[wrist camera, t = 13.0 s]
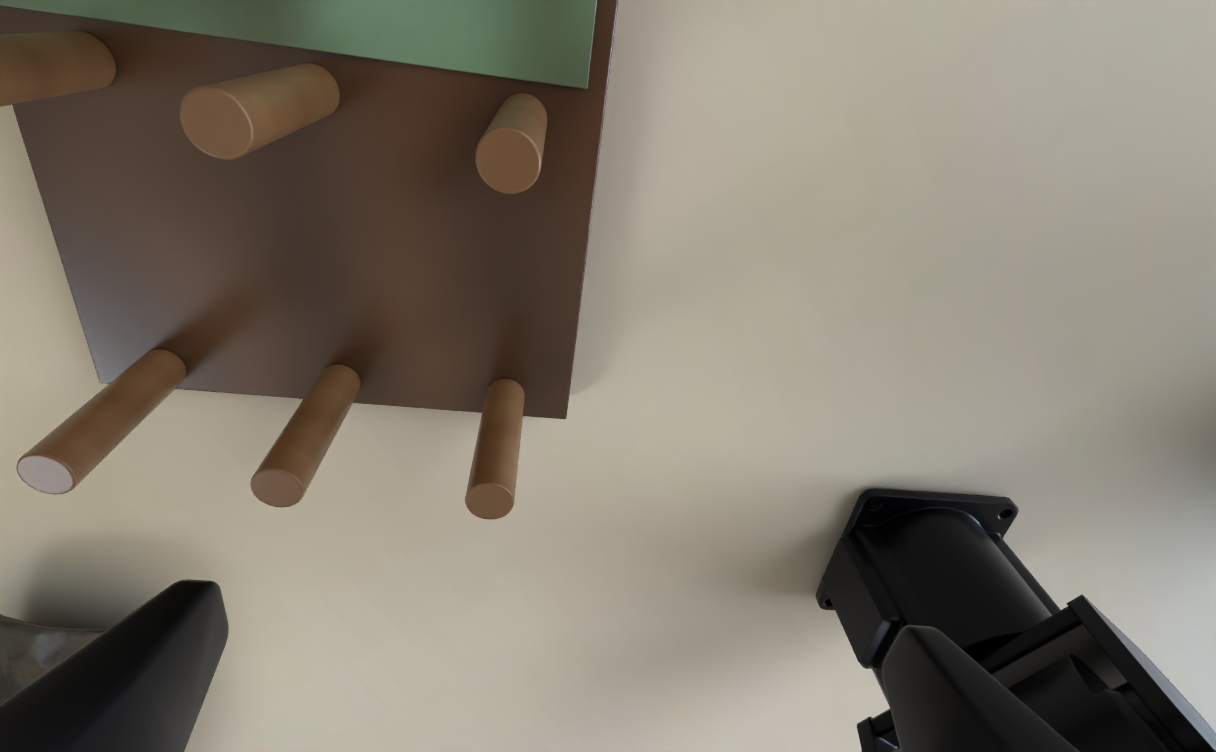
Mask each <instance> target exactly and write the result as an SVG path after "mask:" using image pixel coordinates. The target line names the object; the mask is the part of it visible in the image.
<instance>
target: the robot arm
mask: <svg viewBox="0 0 1216 752" xmlns="http://www.w3.org/2000/svg"><path fill="white" fill-rule="evenodd" d="M875 500H876V501H875ZM872 501H874V502H872ZM871 502H872V503H871ZM1017 514H1018V507H1017V506H1016V505H1015V504H1014V503H1013V502H1012V501H1011V500H1010V499H1009V498H1006V497H993V496H978V495H964V494H949V493H935V492H920V491H906V490H891V489H877V488H874V489H869V490H866V491H864V492H863V493H862V494H861V495H860V496H859V498H858V500H857V502H856V505H855V507H854V509H853V512H852V514H851V516H850V518H849V521H848V523H847V525H846V527H845V530H844V532H843V534H842V536H841V538H840V539H839V541H838V543H837V546H836V548H835V550H834V553H833V555H832V557H831V559H830V562H829V564H828V566H827V568H826V571H825V573H824V575H823V577H822V582H821V584H820V586H819V588H818V591H817V593H816V599H817V602H818V604H819V606H820V608H822V609H825V610H836V613H837V615H838V617H839V619H840V622H841V624H842V626H843V628H844V631H845V633H846V635H847V637H848V639H849V642H850V644H851V646H852V648H853V651H854V653H855V655H856V657H857V659H858V661H859V663H860V664H861V665H862V666H863V667H864V668H867V669H872V670H873V672H874V674H875V676H876V678H877V680H878V683H879V685H880V687H881V689H882V691H883V693H884V696H885V698H886V700H887V702H888V704H889V706H890V709H888V710H887V711H885V712H883V713H881V714H880V715H878V716H876V717H874V718H871V717H868V718H867V719H865V720H863V721H861V722H860V723H858V724H857V729H858V734H859V738H860V743H861V748H862V752H1216V733H1215V732H1214V731H1213V729H1212V728H1211V727H1210V726H1209V724H1208V723H1207V722H1206V721H1205V719H1204V718H1203V717H1202V716H1201V715H1200V714H1199V713H1198V711H1197V710H1196V709H1195V708H1194V707H1193V706H1192V705H1191V704H1190V703H1189V702H1188V701H1187V699H1186V698H1185V697H1184V696H1183V695H1182V694H1181V693H1180V692H1179V691H1178V690H1177V689H1176V687H1175V686H1174V685H1173V684H1172V683H1171V682H1170V681H1169V680H1168V679H1167V678H1166V677H1165V675H1164V674H1163V673H1162V672H1161V671H1160V670H1159V669H1158V668H1157V667H1156V666H1155V665H1154V664H1153V662H1152V661H1151V660H1150V659H1149V658H1148V657H1147V656H1146V655H1145V654H1144V653H1143V652H1142V651H1141V650H1140V649H1139V648H1138V647H1137V646H1136V645H1135V644H1134V643H1133V642H1132V641H1131V640H1130V639H1129V638H1128V637H1127V636H1126V635H1125V634H1123V633H1122V632H1121V631H1120V630H1119V629H1118V628H1117V627H1116V626H1115V625H1114V624H1113V623H1112V622H1111V621H1110V620H1109V619H1108V618H1107V617H1106V616H1105V615H1103V614H1102V613H1101V612H1100V611H1099V610H1098V609H1097V608H1096V607H1095V606H1094V605H1093V604H1092V603H1091V602H1090V601H1089V600H1088V599H1087V598H1086V597H1084V596H1083V595H1080V596H1079V597H1077V598H1075V599H1073V600H1072V601H1070V602H1068V603H1067V605H1068V607H1066V608H1064V609H1063V610H1060V609H1059V607H1058V606H1057V605H1056V604H1055V602H1054V601H1053V600H1052V599H1051V598H1050V596H1049V595H1048V594H1047V593H1046V592H1045V590H1044V589H1043V588H1042V587H1041V585H1040V584H1039V583H1038V582H1037V581H1036V579H1035V578H1034V577H1033V576H1032V575H1031V573H1030V572H1029V571H1028V570H1027V568H1026V567H1025V566H1024V565H1023V564H1022V562H1021V561H1020V560H1019V559H1018V557H1017V556H1016V555H1015V554H1014V553H1013V551H1012V550H1011V549H1010V548H1009V547H1008V545H1007V544H1006V543H1005V542H1004V540H1003V539H1002V538H1003V537H1004V535H1005V533H1006V532H1007V530H1008V528H1009V527H1010V525H1011V524H1012V522H1013V520H1014V519H1015V517H1016V516H1017ZM227 637H228V620H227V616H226V612H225V607H224V603H223V598H222V594H221V590H220V587H219V585H218V584H217V583H215V582H213V581H203V580H181V581H178V582H176V583H174V584H172V585H171V586H169V587H168V588H167V589H165V590H164V591H162V592H161V593H159V594H158V595H157V596H155V597H154V598H152V599H151V600H149V601H148V602H146V603H145V604H144V605H142V606H141V607H139V608H138V609H136V610H135V611H134V612H132V613H131V614H129V615H128V616H126V617H125V618H124V619H122V620H121V621H119V622H118V623H116V624H115V625H114V626H112V627H111V628H109V629H108V630H106V631H105V632H104V633H102V634H101V635H99V636H98V637H96V638H95V639H94V640H92V641H91V642H89V643H88V644H86V645H85V646H84V647H82V648H81V649H79V650H78V651H76V652H75V653H74V654H72V655H71V656H69V657H68V658H66V659H65V660H64V661H62V662H61V663H59V664H58V665H56V666H55V667H53V668H52V669H51V670H49V671H48V672H46V673H45V674H43V675H42V676H41V677H39V678H38V679H36V680H35V681H33V682H32V683H31V684H29V685H28V686H26V687H25V688H23V689H22V690H21V691H19V692H18V693H16V694H15V695H13V696H12V697H11V698H9V699H8V700H6V701H5V702H3V703H2V704H1V705H0V752H184V750H185V748H186V745H187V742H188V740H189V737H190V735H191V732H192V730H193V727H194V724H195V722H196V719H197V717H198V714H199V712H200V709H201V707H202V704H203V701H204V699H205V696H206V694H207V691H208V689H209V686H210V683H211V681H212V678H213V676H214V673H215V671H216V668H217V665H218V663H219V660H220V658H221V655H222V653H223V650H224V647H225V645H226V641H227Z"/></svg>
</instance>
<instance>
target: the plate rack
mask: <svg viewBox="0 0 1216 752" xmlns="http://www.w3.org/2000/svg"><path fill="white" fill-rule="evenodd" d="M617 7H618V0H0V106H6V105H11V104H12V106H13V109H14V112H15V115H16V118H17V122H18V125H19V128H20V131H21V134H22V137H23V141H24V144H25V147H26V150H27V153H28V156H29V160H30V163H31V166H32V169H33V172H34V175H35V178H36V182H37V185H38V188H39V191H40V194H41V197H42V201H43V204H44V207H45V210H46V213H47V216H48V220H49V223H50V226H51V229H52V232H53V235H54V239H55V242H56V245H57V248H58V251H59V254H60V257H61V261H62V264H63V267H64V270H65V273H66V276H67V280H68V283H69V286H70V289H71V292H72V295H73V299H74V302H75V305H76V308H77V311H78V314H79V318H80V321H81V324H82V327H83V330H84V333H85V337H86V340H87V343H88V346H89V349H90V352H91V355H92V359H93V362H94V365H95V368H96V371H97V374H98V378H99V381H100V383H107V384H108V385H107V386H106V387H105V388H104V389H102V390H101V391H100V392H99V393H98V394H96V395H95V396H94V397H93V398H92V399H90V400H89V401H88V402H87V403H86V404H84V405H83V406H82V407H81V408H80V409H78V410H77V411H76V412H75V413H74V414H72V415H71V416H70V417H69V418H68V419H66V420H65V421H64V422H63V423H62V424H60V425H59V426H58V427H57V428H56V429H54V430H53V431H52V432H51V433H50V434H48V435H47V436H46V437H45V438H44V439H42V440H41V441H40V442H39V443H38V444H36V445H35V446H34V447H33V448H32V449H30V450H29V451H28V452H27V453H26V454H24V455H23V456H22V457H21V458H20V459H19V461H18V463H17V472H18V474H19V476H20V477H21V479H22V480H23V481H24V482H25V483H26V484H28V485H29V486H31V487H32V488H34V489H36V490H38V491H41V492H44V493H49V494H63V493H66V492H69V491H71V490H72V489H73V488H74V487H76V486H77V485H78V484H79V483H80V482H81V481H82V480H83V479H84V478H85V477H86V476H87V475H88V474H89V473H90V472H91V471H92V470H93V469H94V468H95V467H96V466H97V465H98V464H99V463H100V462H101V461H102V460H103V459H104V458H105V457H106V456H107V455H108V454H109V453H110V452H111V451H112V450H113V449H114V448H115V447H116V446H117V445H118V444H119V443H120V442H121V441H122V440H123V439H124V438H125V437H126V436H127V435H128V434H129V433H130V432H131V431H132V430H133V429H134V428H135V427H136V426H137V425H138V424H139V423H140V422H141V421H142V420H143V419H144V418H146V417H147V416H148V415H149V414H150V413H151V412H152V411H153V410H154V409H155V408H156V407H157V406H158V405H159V404H160V403H161V402H162V401H163V400H164V399H165V398H166V397H167V396H168V395H169V394H170V393H171V392H172V391H173V390H174V389H184V390H197V391H210V392H223V393H235V394H248V395H261V396H274V397H287V398H300V399H303V401H302V402H301V404H300V405H299V407H298V409H297V410H296V412H295V413H294V415H293V416H292V418H291V419H290V421H289V422H288V424H287V425H286V427H285V428H284V430H283V431H282V433H281V434H280V436H279V437H278V439H277V440H276V442H275V443H274V445H273V446H272V448H271V449H270V451H269V452H268V454H267V455H266V457H265V459H264V460H263V462H262V463H261V465H260V466H259V468H258V469H257V471H256V472H255V474H254V475H253V477H252V479H251V489H252V492H253V493H254V495H255V496H256V497H257V498H258V499H259V500H260V501H262V502H264V503H266V504H268V505H271V506H274V507H289V506H292V505H295V504H296V503H298V502H299V501H300V500H301V499H302V497H303V495H304V494H305V492H306V490H307V488H308V486H309V484H310V482H311V480H312V479H313V477H314V475H315V473H316V471H317V469H318V467H319V465H320V463H321V462H322V460H323V458H324V456H325V454H326V452H327V450H328V448H329V446H330V445H331V443H332V441H333V439H334V437H335V435H336V433H337V431H338V430H339V428H340V426H341V424H342V422H343V420H344V418H345V416H346V414H347V413H348V411H349V409H350V407H351V405H352V403H364V404H376V405H389V406H402V407H415V408H428V409H440V410H453V411H466V412H479V413H482V417H481V422H480V427H479V432H478V437H477V442H476V447H475V452H474V457H473V462H472V467H471V472H470V477H469V482H468V487H467V492H466V497H465V503H466V506H467V508H468V509H469V511H470V512H471V513H472V514H474V515H475V516H477V517H480V518H483V519H498V518H501V517H503V516H505V515H507V514H508V513H509V512H510V511H511V509H512V508H513V505H514V499H515V488H516V478H517V468H518V458H519V448H520V438H521V428H522V418H523V416H530V417H543V418H556V419H566V416H567V408H568V400H569V392H570V384H571V376H572V368H573V360H574V352H575V344H576V336H577V328H578V320H579V312H580V304H581V296H582V288H583V280H584V272H585V264H586V256H587V248H588V240H589V232H590V224H591V216H592V208H593V200H594V192H595V183H596V175H597V167H598V159H599V151H600V143H601V135H602V127H603V119H604V111H605V103H606V95H607V87H608V79H609V71H610V63H611V55H612V47H613V39H614V31H615V23H616V15H617Z"/></svg>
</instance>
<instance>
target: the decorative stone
mask: <svg viewBox="0 0 1216 752" xmlns="http://www.w3.org/2000/svg"><path fill="white" fill-rule="evenodd" d="M106 630H108V629H74V628H58V627H50V626H44V625H38V624H33V623H28V622H24V621H21V620H17V619H14V618H10V617H6V616H3V615H1V614H0V705H1V704H2V703H3V702H5V701H6V700H8V699H9V698H11V697H12V696H13V695H15V694H16V693H18V692H19V691H21V690H22V689H23V688H25V687H26V686H28V685H29V684H31V683H32V682H33V681H35V680H36V679H38V678H39V677H41V676H42V675H43V674H45V673H46V672H48V671H49V670H51V669H52V668H53V667H55V666H56V665H58V664H59V663H61V662H62V661H64V660H65V659H66V658H68V657H69V656H71V655H72V654H74V653H75V652H76V651H78V650H79V649H81V648H82V647H84V646H85V645H86V644H88V643H89V642H91V641H92V640H94V639H95V638H96V637H98V636H99V635H101V634H102V633H104V632H105V631H106Z"/></svg>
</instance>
